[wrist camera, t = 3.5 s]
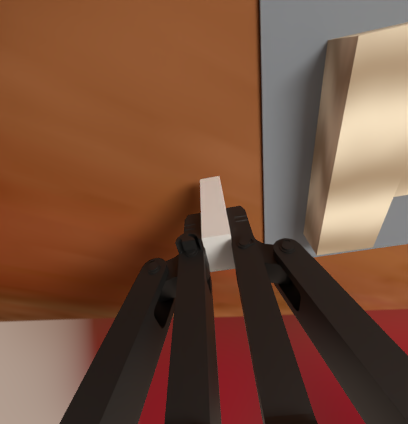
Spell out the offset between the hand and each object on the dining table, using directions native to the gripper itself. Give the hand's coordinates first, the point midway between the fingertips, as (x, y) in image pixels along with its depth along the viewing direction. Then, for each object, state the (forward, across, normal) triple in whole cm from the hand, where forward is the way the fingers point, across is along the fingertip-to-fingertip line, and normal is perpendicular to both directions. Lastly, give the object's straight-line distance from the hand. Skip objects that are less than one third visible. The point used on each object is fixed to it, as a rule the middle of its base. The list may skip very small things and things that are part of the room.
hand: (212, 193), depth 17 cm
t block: (+2, +16, 0) cm, 16 cm away
